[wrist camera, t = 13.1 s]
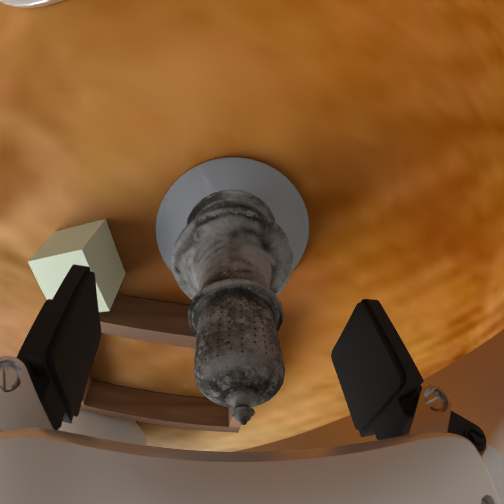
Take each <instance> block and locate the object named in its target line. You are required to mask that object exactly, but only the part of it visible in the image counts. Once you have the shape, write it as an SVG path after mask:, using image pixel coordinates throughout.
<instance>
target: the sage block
mask: <svg viewBox="0 0 504 504" xmlns="http://www.w3.org/2000/svg"><path fill="white" fill-rule="evenodd" d="M28 263H29V265H30V267H31V269H32V271H33V273H34V275H35V277H36V279H37V281H38V283H39V285H40V287H41V289H42V291H43V293H44V295H45V297H46V299H47V300H48V299H53V297H54V296H55V294H56V292H57V290H58V288H59V287H60V285H61V283H62V282H63V280H64V278H65V276H66V275H67V273H68V271H69V270H70V268H71V266H72V265H74V264H76V265H82V266H88V267H89V268H90V271H92V272H94V273H95V280H96V291H97V300H98V309H99V312H106V311H110V309H111V306H112V304H113V302H114V299H115V297H116V295H117V292H118V290H119V288H120V285H121V283H122V281H123V279H124V276H125V274H126V273H125V270H124V267H123V265H122V262H121V260H120V257H119V254H118V252H117V249H116V246H115V243H114V241H113V238H112V235H111V232H110V229H109V226H108V224H107V221H106V219H102V220H98V221H94V222H90V223H86V224H82V225H78V226H74V227H70V228H66V229H62V230H58V231H56V232H55V233H54V234H53V235H52V236H51V237H50V238H49V239H48V240H47V241H46V242H45V243H44V244H43V245H42V246H41V248H40V249H39V250H38V251H37V252H36V253H35V254H34V255H33V256H32V258H31V259H30V260H29V261H28Z"/></svg>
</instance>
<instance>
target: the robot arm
mask: <svg viewBox="0 0 504 504" xmlns="http://www.w3.org/2000/svg"><path fill="white" fill-rule="evenodd" d="M60 1H63V0H0V2H2V3H4V4H6V5H10V6H14V7H19V8H35V7H43V6H47V5H50V4H54V3H57V2H60ZM100 338H101V324H100V316H99V309H98V300H97V291H96V280H95V273H94V272H92V271H90V268H89V267H88V266H82V265H76V264H74V265H72V266H71V268H70V270H69V271H68V273H67V275H66V276H65V278H64V280H63V282H62V283H61V285H60V287H59V288H58V290H57V292H56V294H55V296H54V297H53V299H48V300H47V301H46V302H45V303H44V305H43V307H42V309H41V311H40V312H39V314H38V316H37V318H36V320H35V322H34V324H33V325H32V327H31V329H30V331H29V333H28V335H27V337H26V339H25V341H24V343H23V345H22V347H21V349H20V351H19V354H18V356H17V358H15V357H11V356H5V357H0V504H504V458H503V457H502V456H501V455H500V454H499V453H498V452H497V451H495V449H493V447H492V446H490V445H489V444H488V445H487V446H486V437H485V435H484V433H483V431H482V430H481V429H480V428H479V427H478V426H476V425H475V424H473V423H472V422H470V421H468V420H467V419H465V418H463V417H461V416H460V415H458V414H456V413H454V412H453V411H451V401H450V398H449V396H448V395H447V394H446V392H445V391H444V390H443V389H441V388H440V387H438V386H435V385H426V386H425V387H423V388H422V387H421V383H422V382H423V381H424V380H423V378H422V376H421V375H420V373H419V371H418V369H417V367H416V365H415V363H414V361H413V360H412V358H411V356H410V354H409V352H408V351H407V349H406V347H405V345H404V343H403V342H402V340H401V338H400V336H399V335H398V333H397V331H396V329H395V328H394V326H393V324H392V322H391V321H390V319H389V317H388V316H387V314H386V312H385V311H384V309H383V307H382V306H381V304H380V302H379V301H378V300H370V299H363V300H362V301H361V302H360V303H358V304H357V305H356V307H355V309H354V311H353V313H352V315H351V317H350V319H349V321H348V323H347V324H346V326H345V328H344V330H343V332H342V334H341V336H340V338H339V339H338V341H337V343H336V345H335V347H334V349H333V351H332V355H331V357H332V361H333V364H334V367H335V370H336V373H337V376H338V379H339V381H340V384H341V387H342V390H343V393H344V396H345V399H346V402H347V405H348V408H349V411H350V414H351V417H352V420H353V422H354V426H355V428H356V429H357V430H359V432H360V435H361V437H365V436H371V435H374V434H375V435H376V440H375V441H371V442H365V443H358V444H352V445H345V446H338V447H329V448H319V449H308V450H296V451H277V452H213V451H194V450H181V449H170V448H161V447H153V446H145V445H138V444H131V443H124V442H118V441H112V440H107V439H101V438H96V437H91V436H86V435H81V434H75V433H70V432H65V431H59V428H61V425H62V422H66V423H70V424H72V420H73V416H75V417H77V416H78V415H79V411H80V407H81V403H82V400H83V396H84V392H85V388H86V385H87V381H88V377H89V374H90V370H91V367H92V364H93V360H94V357H95V354H96V351H97V347H98V344H99V341H100Z"/></svg>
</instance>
